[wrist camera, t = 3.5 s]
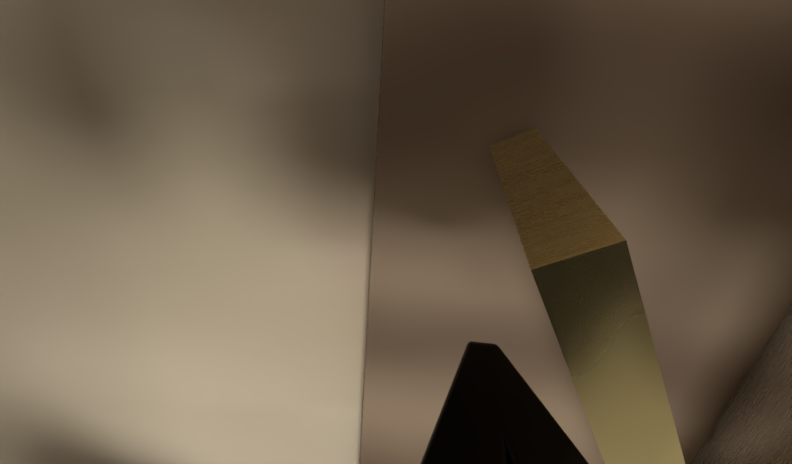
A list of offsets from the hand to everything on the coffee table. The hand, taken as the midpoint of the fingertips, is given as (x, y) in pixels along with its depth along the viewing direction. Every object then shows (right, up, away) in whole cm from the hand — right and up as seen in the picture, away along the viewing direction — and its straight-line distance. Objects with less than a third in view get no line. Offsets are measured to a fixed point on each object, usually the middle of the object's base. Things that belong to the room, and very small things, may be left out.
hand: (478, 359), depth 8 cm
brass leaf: (+4, -1, +3) cm, 5 cm away
